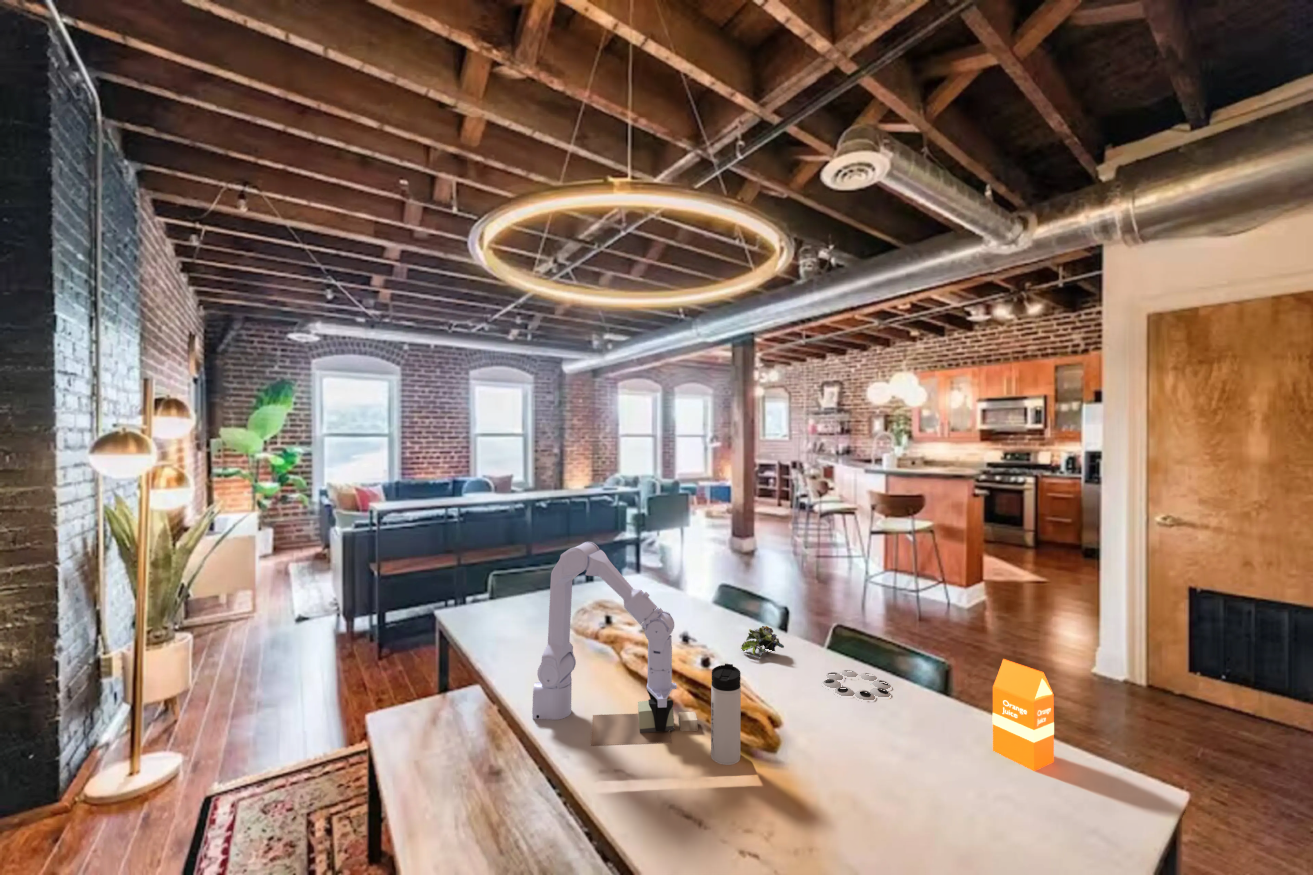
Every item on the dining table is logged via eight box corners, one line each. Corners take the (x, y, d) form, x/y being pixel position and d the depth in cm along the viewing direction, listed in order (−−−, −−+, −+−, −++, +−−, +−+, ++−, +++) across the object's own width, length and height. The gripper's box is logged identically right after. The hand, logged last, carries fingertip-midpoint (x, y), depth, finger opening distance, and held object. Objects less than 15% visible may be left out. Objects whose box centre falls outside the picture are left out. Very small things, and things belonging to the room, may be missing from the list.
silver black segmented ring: (872, 711, 144) (872, 703, 144) (807, 685, 159) (807, 678, 159) (907, 689, 157) (906, 682, 157) (843, 668, 172) (843, 661, 172)
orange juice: (1033, 771, 117) (1033, 675, 117) (992, 750, 125) (991, 661, 125) (1054, 761, 120) (1054, 669, 121) (1012, 742, 128) (1012, 655, 129)
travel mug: (743, 757, 121) (743, 665, 122) (737, 774, 115) (737, 677, 115) (714, 751, 123) (715, 661, 124) (707, 768, 117) (708, 672, 117)
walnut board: (590, 752, 123) (590, 745, 123) (592, 720, 137) (592, 714, 137) (671, 749, 124) (671, 742, 124) (665, 718, 138) (665, 712, 138)
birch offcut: (680, 720, 130) (697, 719, 130) (678, 712, 134) (694, 711, 134) (680, 737, 129) (697, 737, 130) (678, 728, 133) (694, 728, 134)
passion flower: (767, 669, 183) (789, 641, 182) (758, 674, 173) (782, 645, 172) (741, 644, 188) (762, 616, 187) (731, 648, 178) (754, 619, 177)
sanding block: (639, 733, 128) (638, 711, 128) (638, 722, 133) (637, 701, 133) (674, 729, 129) (673, 708, 129) (672, 719, 134) (670, 698, 134)
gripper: (680, 678, 124) (680, 739, 124) (673, 654, 139) (672, 708, 139) (648, 679, 124) (648, 740, 124) (644, 654, 138) (644, 709, 138)
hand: (659, 724), depth 131 cm, fingers closed on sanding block, 5 cm apart
